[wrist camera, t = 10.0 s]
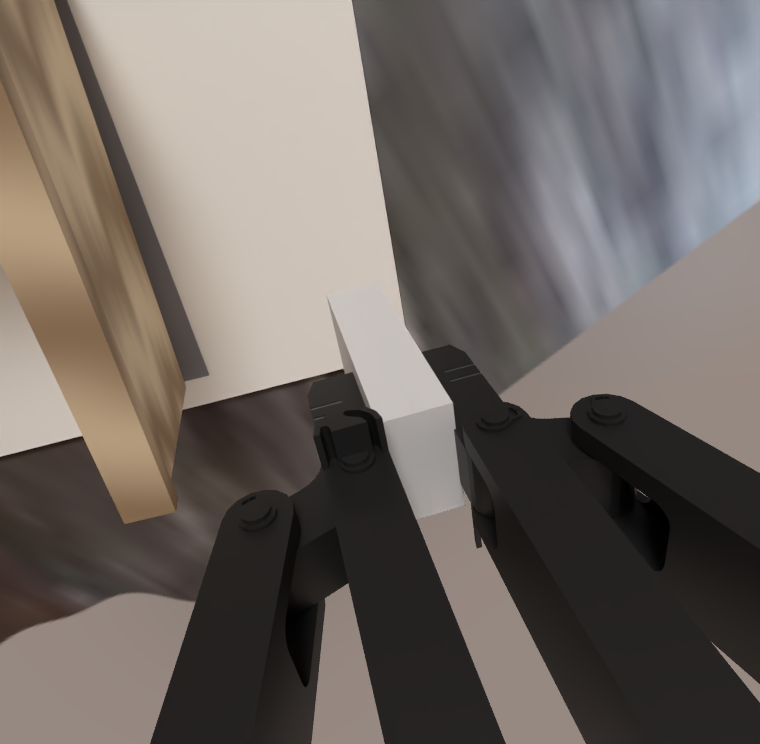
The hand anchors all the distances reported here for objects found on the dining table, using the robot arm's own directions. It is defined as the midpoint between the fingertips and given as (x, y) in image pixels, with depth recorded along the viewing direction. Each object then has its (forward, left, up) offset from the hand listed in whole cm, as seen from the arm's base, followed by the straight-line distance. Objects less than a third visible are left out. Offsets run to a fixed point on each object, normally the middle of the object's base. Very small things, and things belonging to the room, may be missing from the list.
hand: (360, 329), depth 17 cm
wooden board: (-8, +12, -11) cm, 18 cm away
